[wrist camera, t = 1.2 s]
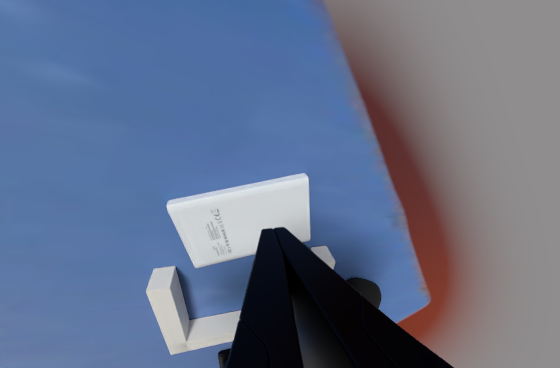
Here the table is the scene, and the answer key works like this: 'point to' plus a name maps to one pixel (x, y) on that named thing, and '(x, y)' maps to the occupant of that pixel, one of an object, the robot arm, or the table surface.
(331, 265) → the dock
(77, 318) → the table surface
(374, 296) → the computer mouse
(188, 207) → the external hard drive
